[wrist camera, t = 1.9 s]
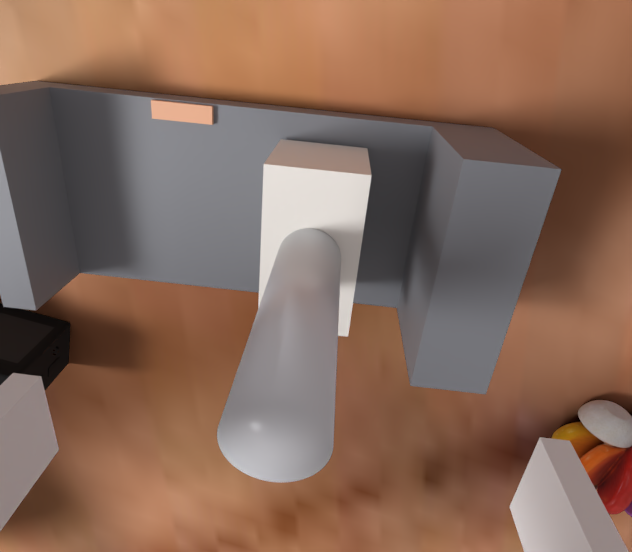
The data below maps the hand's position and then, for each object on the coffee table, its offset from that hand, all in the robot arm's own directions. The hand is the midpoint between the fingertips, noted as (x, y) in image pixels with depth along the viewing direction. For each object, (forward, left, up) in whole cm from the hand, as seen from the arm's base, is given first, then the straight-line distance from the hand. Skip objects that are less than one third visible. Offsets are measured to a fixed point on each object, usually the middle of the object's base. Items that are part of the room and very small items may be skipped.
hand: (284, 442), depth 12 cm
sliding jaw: (0, 0, -18) cm, 18 cm away
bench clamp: (-4, 0, -20) cm, 21 cm away
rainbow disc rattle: (+25, -17, -21) cm, 37 cm away
